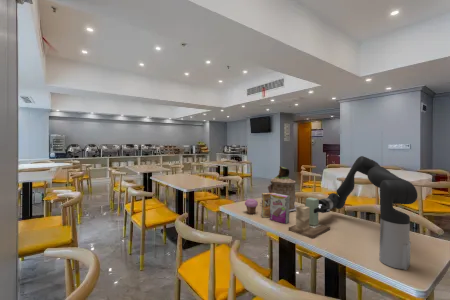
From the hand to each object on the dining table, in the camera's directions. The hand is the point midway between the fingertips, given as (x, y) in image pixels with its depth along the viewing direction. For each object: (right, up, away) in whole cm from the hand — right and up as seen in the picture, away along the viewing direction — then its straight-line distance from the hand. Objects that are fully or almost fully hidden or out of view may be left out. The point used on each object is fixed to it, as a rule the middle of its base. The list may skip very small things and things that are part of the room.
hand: (309, 210), depth 122 cm
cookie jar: (-5, -10, +42) cm, 44 cm away
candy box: (-19, -10, +21) cm, 30 cm away
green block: (+2, -8, +2) cm, 8 cm away
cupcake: (-30, -10, +28) cm, 42 cm away
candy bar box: (-14, -10, +12) cm, 21 cm away
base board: (-1, -11, -2) cm, 11 cm away
